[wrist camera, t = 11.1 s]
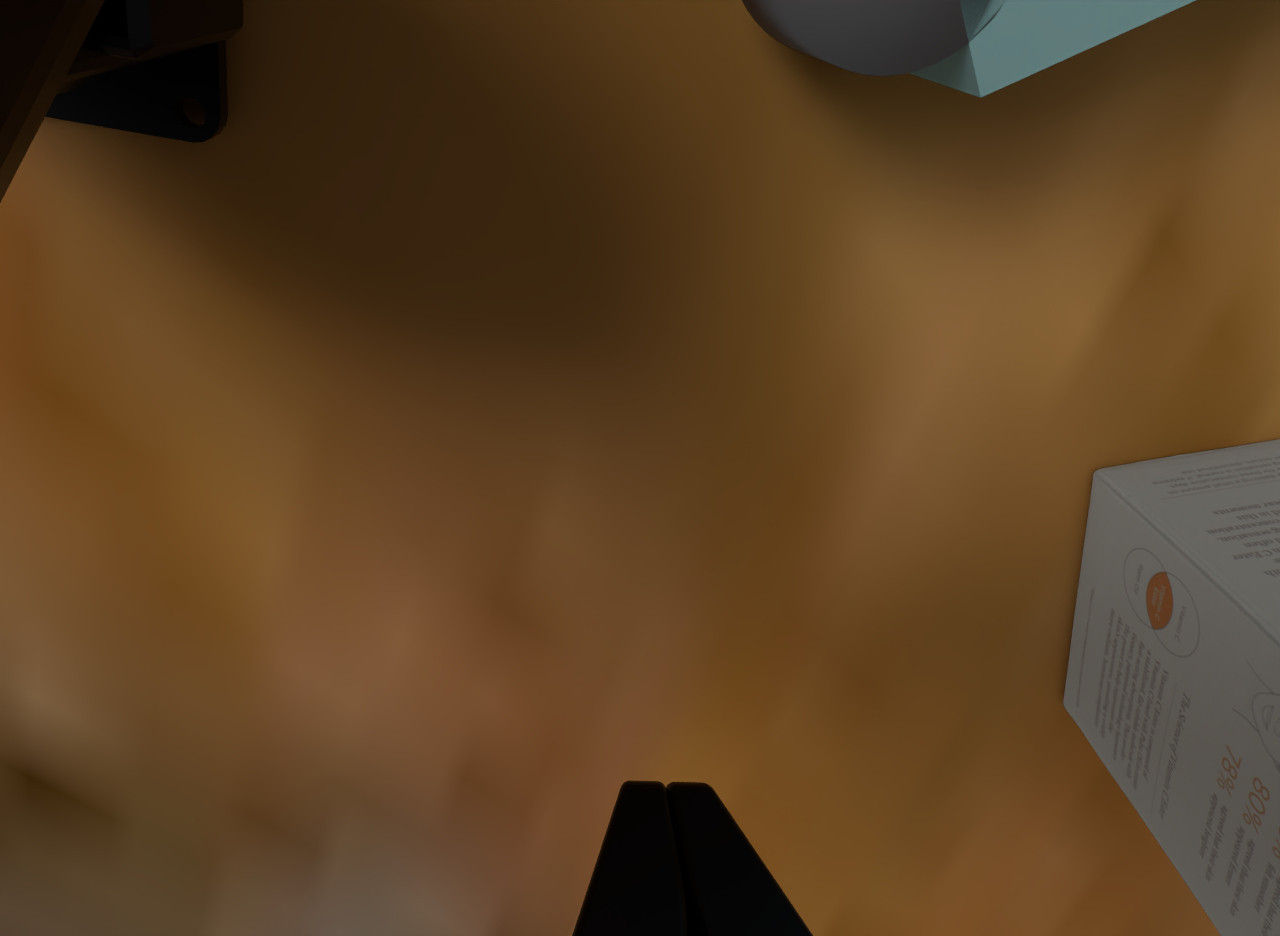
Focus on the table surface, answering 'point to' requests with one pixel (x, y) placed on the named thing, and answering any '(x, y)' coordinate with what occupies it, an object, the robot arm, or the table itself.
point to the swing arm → (951, 34)
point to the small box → (1189, 666)
